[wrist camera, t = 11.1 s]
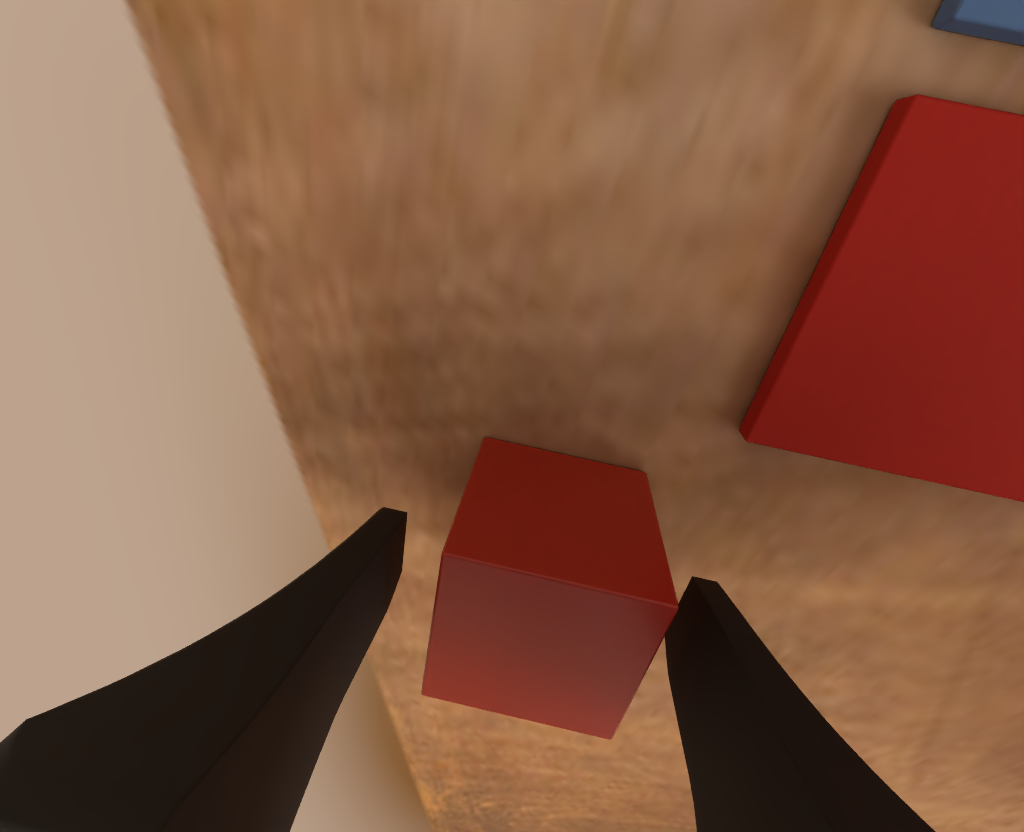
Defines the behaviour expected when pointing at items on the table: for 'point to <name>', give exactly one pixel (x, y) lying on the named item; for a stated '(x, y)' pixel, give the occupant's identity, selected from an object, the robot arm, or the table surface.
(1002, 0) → the blue mat
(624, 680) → the red block
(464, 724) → the table surface
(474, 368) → the table surface
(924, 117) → the red mat
